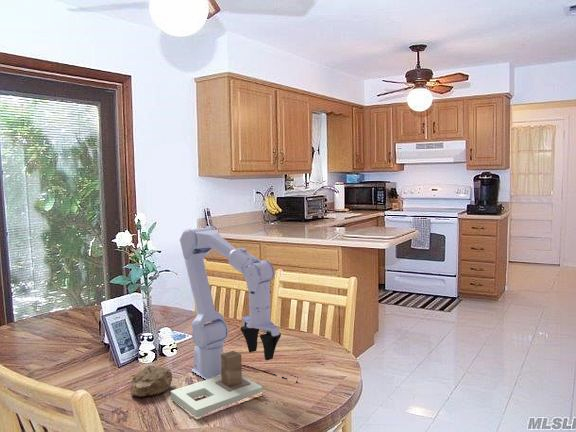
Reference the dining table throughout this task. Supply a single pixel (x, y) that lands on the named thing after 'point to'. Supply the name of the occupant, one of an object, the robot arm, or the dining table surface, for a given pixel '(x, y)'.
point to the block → (231, 368)
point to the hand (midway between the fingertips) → (260, 355)
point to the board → (213, 394)
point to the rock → (151, 381)
